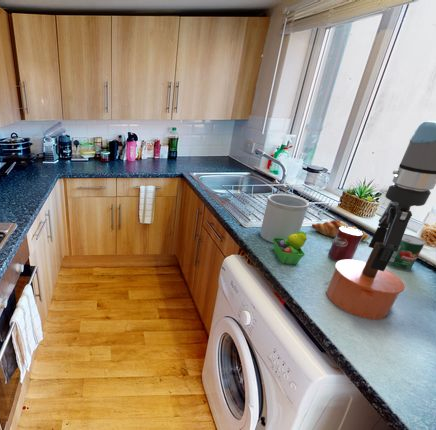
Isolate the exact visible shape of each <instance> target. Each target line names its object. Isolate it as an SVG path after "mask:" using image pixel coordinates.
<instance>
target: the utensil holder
mask: <svg viewBox="0 0 436 430" xmlns="http://www.w3.org/2000/svg"><path fill="white" fill-rule="evenodd" d="M266 200H267V202H266V206H265V210H264V215H263V218H262V223H261V228H260V234H259V235H260V237H261V238H262V239H264V240H265V241H267V242H269V243H272V244H274V241H273V238H283V239H288V237H289V235H291V234H296V233H297V232H299V231H301V229H302V226H303V223H304V220H305V217H306V213H307V210H308V208H309V206H310V202H309V200H307V199H305V198H303V197H300V196H298V195H293V194H288V193H272V194H269V195H267V199H266Z"/></svg>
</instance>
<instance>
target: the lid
mask: <svg viewBox="0 0 436 430" xmlns="http://www.w3.org/2000/svg"><path fill="white" fill-rule="evenodd" d="M379 244H383V243H382V242H376V243H375V245H374V248H372V250H371V252H370V254H369V256H368V258H367V260H366V261H363V260H359V259H358V260H357V259H352V260H351V259H344V260H340V261H338V262H336V261H335V262H336V263H335V264H334V270H335V269H336V271H337V272H338V273H339V274H340V275H341V276H342V277H343V278H345V279H346V280H348V281H349V282H351V283H353V284H355V285H357V286H359V287H362V288H364V289H367V290H370V291H374V292H378V293H383V294H399V295H400V294H401V293H403V292H404V291H405V288H406V285H405V283H404V282H403V280H402V279H401V278H400V277H399V276H397V275H396V274H394V273H393V272H391V271H389V270H387V269H386V268H385V270H384V272H383V271H380V270H377V269H373V268H370V266H371V264H372V262H373V260H374V258H375V256H376V254H377V252H378V250H379V248H380V247H378V245H379Z"/></svg>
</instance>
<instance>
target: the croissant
mask: <svg viewBox="0 0 436 430" xmlns="http://www.w3.org/2000/svg"><path fill="white" fill-rule="evenodd" d="M340 227H350V228H354V229H357V230H359V231H360V232H362V234H363V237H362V239H361V241H369V240H370V239H372V237H371V236H370V235H368V234H367V233H366V232H365V231H364V230H360V229H358V228H357V227H356V226H355V225H348V224H347V223H346V222H345V221H342V220H336V219H335V220H331V221H325V222H323V223H320V222H317V223H312V224H311V228H312V229H313V230H315V231H317V232H318V233H320V234H322V235H324V236H327V237H331V238H333V239H334V238H335V236H336V233H337V231H338V229H339V228H340Z"/></svg>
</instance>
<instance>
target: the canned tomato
mask: <svg viewBox="0 0 436 430" xmlns="http://www.w3.org/2000/svg"><path fill="white" fill-rule="evenodd" d="M425 244H426V241H425V240H423V239H422V238H419V237H417V236H415V235H411V234H407V233H404V235H403V238H402V240H401V243H400V246H399V248H398V249H399V250H398V251H397V252H395V251H394V253H393V255H392V256H391V258H390V260H389V262H388V264H387V266H388V267H391V268H392V269H395V270H399V271H405V272H408V271H411V270H412V268H413V266H414V264H415V262H416V260H417V259H418V257H419V255H420V253H421V251H422V250H423V248H424V246H425ZM389 245H391V244H389ZM392 246H393V245H392Z"/></svg>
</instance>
